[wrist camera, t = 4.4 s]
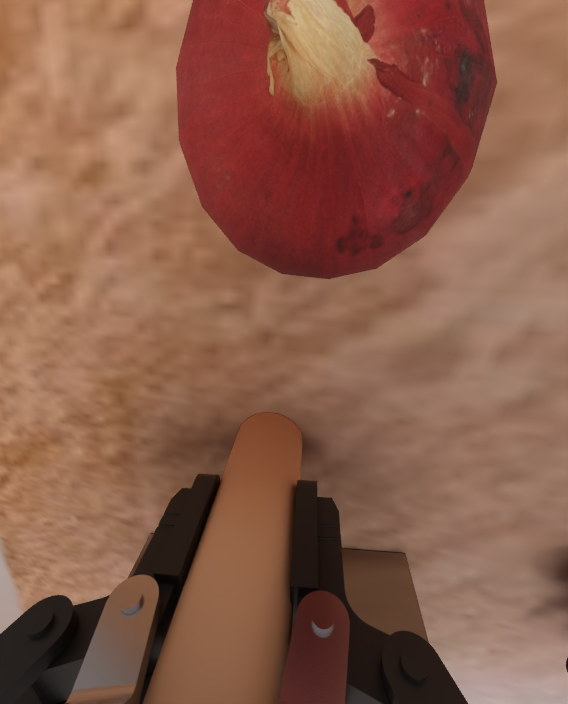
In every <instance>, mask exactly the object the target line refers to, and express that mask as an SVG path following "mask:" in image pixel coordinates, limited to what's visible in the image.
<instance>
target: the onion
mask: <svg viewBox="0 0 568 704" xmlns="http://www.w3.org/2000/svg"><path fill="white" fill-rule="evenodd" d="M176 75H177V102H178V128H179V141H180V145H181V148H182V151H183V154H184V157H185V160H186V162H187V165H188V168H189V171H190V174H191V176H192V179H193V182H194V185H195V188H196V190H197V193H198V196H199V199H200V202H201V204H202V207H203V208H204V210H205V211H206V212H207V213H208V214H209V216H210V217H211V218H212V219H213V220H214V222H215V223H216V224H217V225H218V227H219V228H220V229H221V230H222V231H223V233H224V234H225V235H226V236H227V237H228V239H229V240H230V241H231V242H232V244H233V245H234V246H235V247H236V248H237V250H238V251H240V252H242V253H244V254H246V255H248V256H250V257H251V258H253V259H255V260H257V261H259V262H261V263H263V264H265V265H267V266H268V267H270V268H272V269H274V270H276V271H278V272H280V273H282V274H289V275H298V276H307V277H316V278H325V279H331V278H335V277H340V276H344V275H349V274H353V273H358V272H362V271H367V270H371V269H376V268H378V267H379V266H381V265H382V264H384V263H385V262H387V261H388V260H390V259H391V258H393V257H394V256H396V255H397V254H399V253H400V252H402V251H403V250H405V249H406V248H408V247H409V246H411V245H412V244H414V243H415V242H417V241H418V240H420V239H421V238H423V237H424V236H425V235H426V234H427V233H428V231H429V230H430V229H431V227H432V226H433V224H434V223H435V222H436V220H437V219H438V218H439V216H440V215H441V213H442V212H443V211H444V209H445V208H446V207H447V205H448V204H449V202H450V201H451V200H452V198H453V197H454V196H455V194H456V193H457V191H458V190H459V189H460V187H461V186H462V185H463V183H464V182H465V180H466V179H467V178H468V175H469V173H470V171H471V169H472V166H473V162H474V159H475V156H476V152H477V149H478V145H479V142H480V139H481V135H482V132H483V129H484V125H485V122H486V118H487V115H488V112H489V108H490V105H491V101H492V98H493V95H494V91H495V88H496V84H497V79H496V73H495V67H494V60H493V54H492V48H491V42H490V35H489V29H488V23H487V17H486V10H485V4H484V0H193V3H192V7H191V11H190V15H189V19H188V23H187V27H186V31H185V35H184V39H183V43H182V46H181V50H180V54H179V58H178V62H177V66H176Z"/></svg>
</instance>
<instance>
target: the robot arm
mask: <svg viewBox="0 0 568 704" xmlns="http://www.w3.org/2000/svg"><path fill="white" fill-rule="evenodd" d="M219 485H220V476H219V475H211V474H198V475H197V477H196V479H195V481H194V483H193V486H192V488H191V489H188V488H182V489H181V490H180V491H179V492H178V493H177V494H176V495H175V496H174V497H173V498H172V499H171V501H170V503H169V505H168V507H167V509H166V511H165V513H164V516H163V517H162V519H161V521H160V523H159V526H158V527H157V529H156V531H155V533H154V535H153V537H152V539H151V541H150V543H149V545H148V547H147V548H146V550H145V552H144V554H143V556H142V558H141V560H140V562H139V564H138V566H137V568H136V570H135V572H134V574H133V575H132V577H130V578H128V579H126V580H125V581H123V582H122V583H121V584H119V585H118V586H117V587H116V588H115V589H114V591H113V592H112V593H111V594H110V595H109V596H107V597H104V598H101V599H97V600H93V601H90V602H86V603H82V604H78V605H75V606H73V604H72V602H71V601H70V599H69V598H67V597H66V596H63V595H55V596H51V597H48V598H45V599H43V600H41V601H39V602H38V603H36V604H35V605H33V606H32V607H31V608H29V609H28V610H27V611H26V612H25V613H24V614H23V615H21V616H20V617H19V618H18V619H17V620H16V621H15V622H14V623H12V624H11V625H10V626H9V627H8V628H7V629H6V630H5V631H3V632H2V633H1V634H0V704H142V703H143V701H144V698H145V695H146V692H147V689H148V686H149V683H150V681H151V678H152V675H153V672H154V669H155V666H156V664H157V661H158V658H159V655H160V652H161V649H162V647H163V644H164V641H165V638H166V635H167V632H168V630H169V627H170V624H171V621H172V618H173V615H174V612H175V610H176V607H177V604H178V601H179V598H180V595H181V593H182V590H183V587H184V584H185V581H186V578H187V576H188V573H189V570H190V567H191V564H192V561H193V559H194V556H195V553H196V550H197V547H198V544H199V541H200V539H201V536H202V533H203V530H204V527H205V524H206V522H207V519H208V516H209V513H210V510H211V507H212V505H213V502H214V499H215V496H216V493H217V490H218V487H219ZM290 602H291V604H292V607H293V625H292V637H291V642H290V647H289V652H288V657H287V662H286V667H285V672H284V677H283V682H282V687H281V692H280V697H279V702H278V704H468V703H467V701H466V699H465V698H464V696H463V695H462V693H461V691H460V690H459V688H458V687H457V685H456V683H455V682H454V680H453V678H452V677H451V675H450V674H449V672H448V670H447V669H446V667H445V665H444V664H443V662H442V661H441V659H440V657H439V656H438V654H437V653H436V651H435V650H434V648H433V647H432V646H431V645H430V644H429V643H428V642H427V641H426V640H425V639H424V638H422V637H421V636H419V635H417V634H415V633H413V632H410V631H397V632H394V633H393V634H391V635H389V634H386V633H384V632H382V631H380V630H378V629H376V628H374V627H372V626H370V625H369V624H367V623H365V622H364V621H363V620H361V619H360V618H359V617H358V616H357V615H356V614H355V612H354V611H353V610H352V608H351V607H350V605H349V603H348V600H347V597H346V594H345V586H344V573H343V560H342V547H341V534H340V521H339V511H338V509H337V507H336V505H335V503H334V501H333V499H332V498H325V497H317V481H307V480H297V492H296V507H295V521H294V536H293V551H292V565H291V580H290Z"/></svg>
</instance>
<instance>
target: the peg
mask: <svg viewBox="0 0 568 704" xmlns="http://www.w3.org/2000/svg"><path fill="white" fill-rule="evenodd" d="M302 446H303V439H302V434H301V432H300V430H299V428H298V427H297V426H296V425H295V424H294V423H293V422H292V421H291V420H290V419H288V418H286V417H284V416H282V415H279V414H275V413H259V414H256V415H253V416H251V417H249V418H248V419H246V420H245V421H244V422H243V423H242V425H241V426H240V428H239V431H238V434H237V436H236V439H235V442H234V445H233V448H232V451H231V453H230V456H229V459H228V462H227V465H226V468H225V470H224V473H223V476H222V479H221V482H220V485H219V487H218V490H217V493H216V496H215V499H214V502H213V505H212V507H211V510H210V513H209V516H208V519H207V522H206V524H205V527H204V530H203V533H202V536H201V539H200V541H199V544H198V547H197V550H196V553H195V556H194V559H193V561H192V564H191V567H190V570H189V573H188V576H187V578H186V581H185V584H184V587H183V590H182V593H181V595H180V598H179V601H178V604H177V607H176V610H175V612H174V615H173V618H172V621H171V624H170V627H169V630H168V632H167V635H166V638H165V641H164V644H163V647H162V649H161V652H160V655H159V658H158V661H157V664H156V666H155V669H154V672H153V675H152V678H151V681H150V683H149V686H148V689H147V692H146V695H145V698H144V701H143V703H142V704H278V702H279V697H280V692H281V687H282V682H283V677H284V672H285V667H286V662H287V657H288V652H289V647H290V642H291V637H292V625H293V607H292V604H291V602H290V580H291V565H292V551H293V536H294V521H295V507H296V492H297V480H301V464H302Z"/></svg>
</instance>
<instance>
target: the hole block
mask: <svg viewBox="0 0 568 704" xmlns="http://www.w3.org/2000/svg"><path fill="white" fill-rule="evenodd" d="M153 535H154V534H150V536H149V538H148V540H147V542H146V543H145V545H144V547H143V549H142V551H141V553H140V555H139V557H138V559H137V561H136V563H135V565H134V567H133V569H132V571H131V573H130V575H129V577H128V578H130V577H132V575H133V574H134V572H135V570H136V568H137V566H138V564H139V562H140V560H141V558H142V556H143V554H144V552H145V550H146V548H147V547H148V545H149V543H150V541H151V539H152V537H153ZM342 560H343V573H344V586H345V594H346V597H347V600H348V603H349V605H350V607H351V608H352V610H353V611H354V612H355V614H356V615H357V616H358V617H359V618H360V619H361V620H363V621H364V622H365V623H367V624H369V625H370V626H372V627H374V628H376V629H378V630H380V631H382V632H384V633H386V634H389V635H391V634H393V633H394V632H397V631H410V632H413V633H415V634H417V635H419V636H421V637H422V638H424V639H425V640H426V641H427V642H428V638H427V634H426V631H425V627H424V623H423V619H422V615H421V612H420V608H419V604H418V600H417V596H416V592H415V589H414V585H413V581H412V577H411V573H410V570H409V566H408V562H407V558H406V554H404V553H391V552H379V551H366V550H353V549H342ZM428 643H429V642H428Z"/></svg>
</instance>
